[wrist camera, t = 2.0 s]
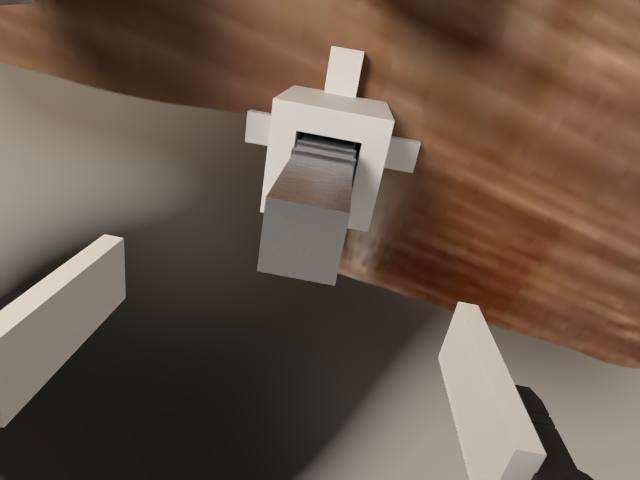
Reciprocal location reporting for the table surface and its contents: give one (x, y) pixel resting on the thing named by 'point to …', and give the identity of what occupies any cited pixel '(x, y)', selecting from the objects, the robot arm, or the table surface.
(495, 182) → the table surface
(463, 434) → the robot arm
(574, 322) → the table surface
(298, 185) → the post
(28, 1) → the potted plant
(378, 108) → the housing
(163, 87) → the table surface
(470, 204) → the table surface
